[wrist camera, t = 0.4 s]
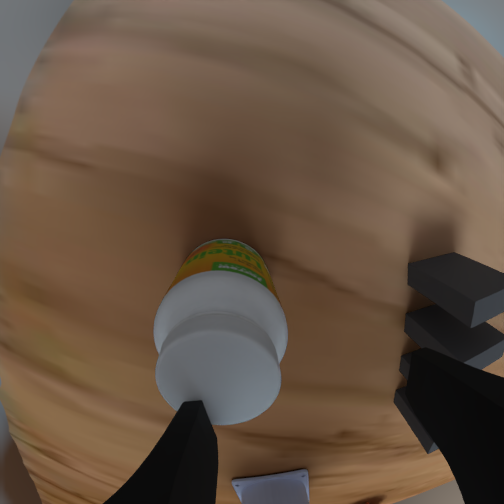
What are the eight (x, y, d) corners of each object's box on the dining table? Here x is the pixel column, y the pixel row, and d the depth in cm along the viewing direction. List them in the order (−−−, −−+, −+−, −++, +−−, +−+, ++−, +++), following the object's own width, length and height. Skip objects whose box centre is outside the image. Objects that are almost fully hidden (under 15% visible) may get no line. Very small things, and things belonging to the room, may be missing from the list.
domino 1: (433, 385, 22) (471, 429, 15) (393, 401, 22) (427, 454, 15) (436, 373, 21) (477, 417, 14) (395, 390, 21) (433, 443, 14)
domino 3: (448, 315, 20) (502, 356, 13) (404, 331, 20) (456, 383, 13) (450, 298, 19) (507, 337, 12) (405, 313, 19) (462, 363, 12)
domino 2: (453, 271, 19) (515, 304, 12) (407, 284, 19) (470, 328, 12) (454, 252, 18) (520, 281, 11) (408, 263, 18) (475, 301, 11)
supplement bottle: (267, 234, 17) (308, 300, 8) (270, 317, 18) (300, 431, 9) (176, 240, 17) (113, 310, 7) (186, 322, 18) (155, 436, 9)
